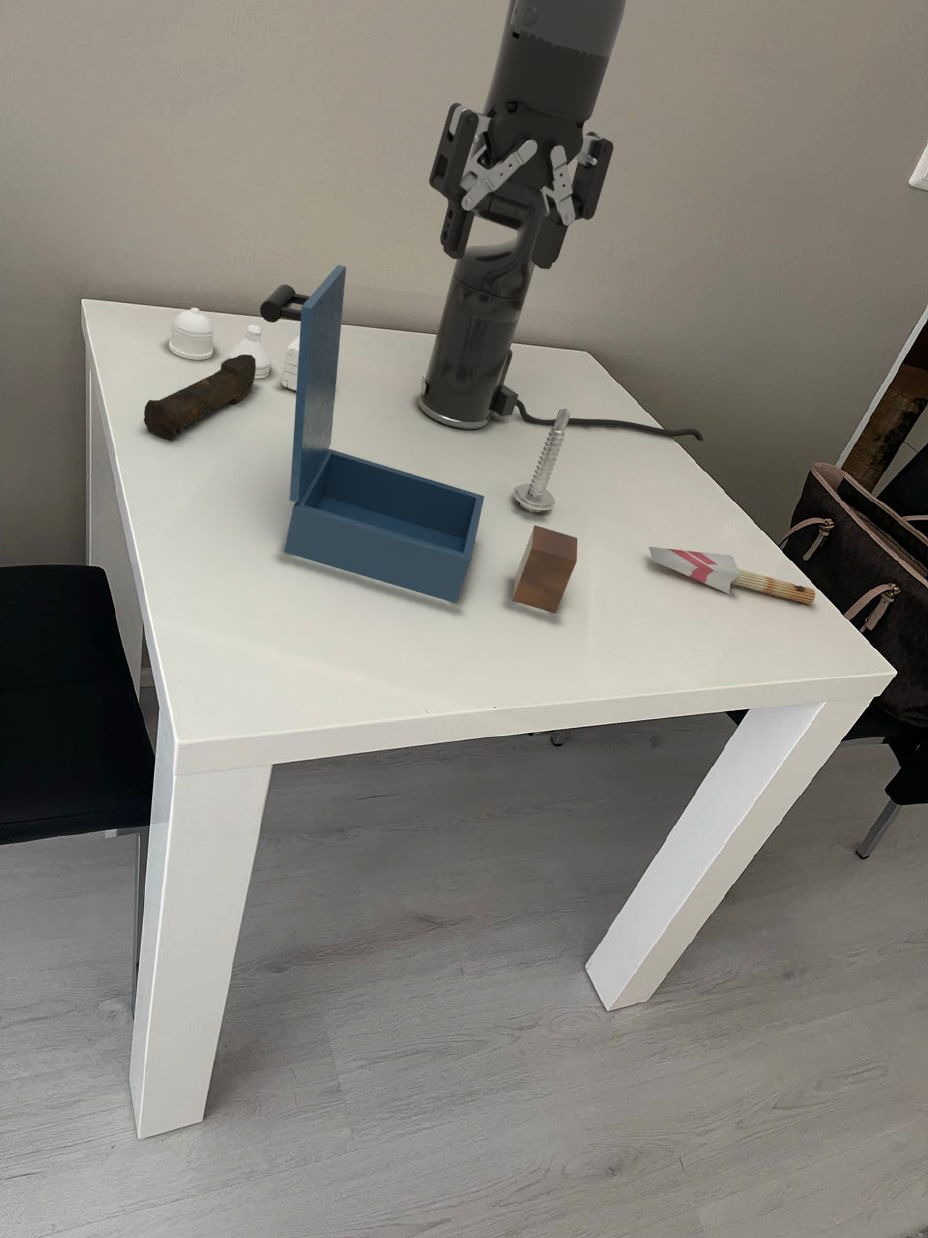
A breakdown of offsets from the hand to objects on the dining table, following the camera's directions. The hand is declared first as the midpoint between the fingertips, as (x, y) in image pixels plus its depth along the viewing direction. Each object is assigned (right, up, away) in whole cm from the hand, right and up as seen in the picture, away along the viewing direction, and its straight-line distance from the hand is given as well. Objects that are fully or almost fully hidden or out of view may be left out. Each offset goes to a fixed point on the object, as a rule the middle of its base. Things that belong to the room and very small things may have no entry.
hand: (496, 260), depth 77 cm
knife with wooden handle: (+27, -25, +31) cm, 48 cm away
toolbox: (-11, -22, +17) cm, 30 cm away
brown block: (+4, -27, +17) cm, 32 cm away
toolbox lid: (-15, -8, +8) cm, 19 cm away
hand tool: (-32, -5, +30) cm, 45 cm away
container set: (-29, +2, +42) cm, 51 cm away
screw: (+5, -17, +32) cm, 36 cm away
